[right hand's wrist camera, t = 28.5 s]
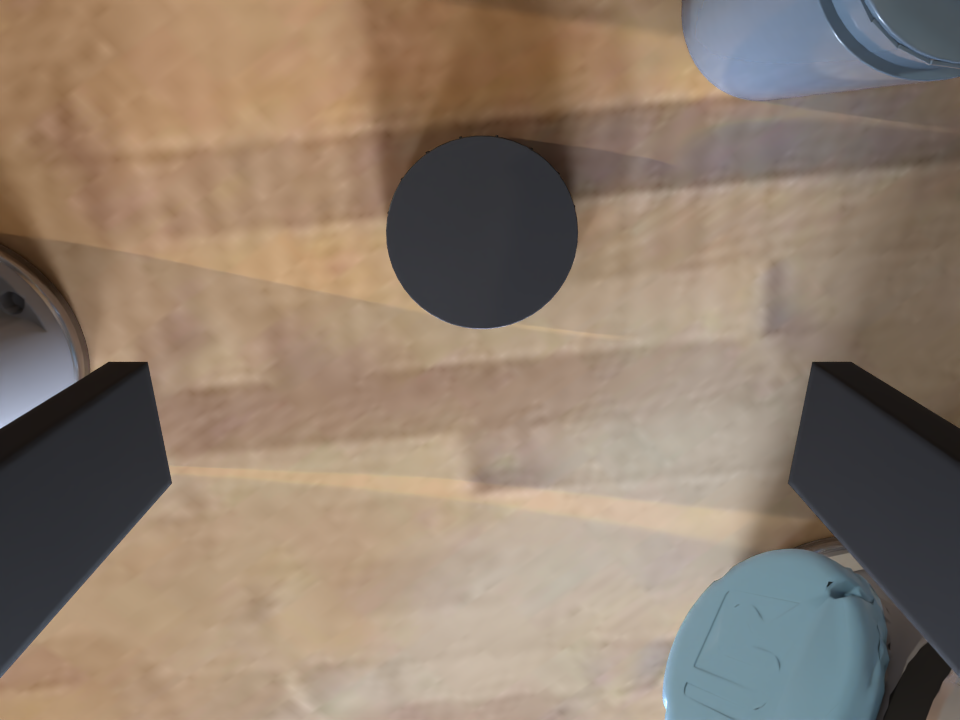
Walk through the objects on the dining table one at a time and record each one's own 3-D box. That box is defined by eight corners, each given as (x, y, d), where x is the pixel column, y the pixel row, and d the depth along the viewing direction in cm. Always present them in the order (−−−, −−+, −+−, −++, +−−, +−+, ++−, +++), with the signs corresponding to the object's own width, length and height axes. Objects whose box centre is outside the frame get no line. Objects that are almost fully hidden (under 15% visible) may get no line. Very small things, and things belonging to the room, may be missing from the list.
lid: (534, 342, 39) (537, 354, 37) (369, 287, 38) (362, 295, 36) (601, 174, 36) (609, 176, 34) (421, 107, 35) (417, 105, 32)
